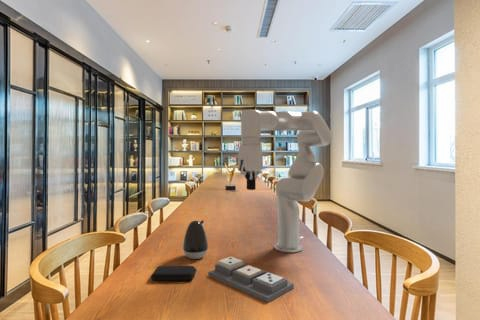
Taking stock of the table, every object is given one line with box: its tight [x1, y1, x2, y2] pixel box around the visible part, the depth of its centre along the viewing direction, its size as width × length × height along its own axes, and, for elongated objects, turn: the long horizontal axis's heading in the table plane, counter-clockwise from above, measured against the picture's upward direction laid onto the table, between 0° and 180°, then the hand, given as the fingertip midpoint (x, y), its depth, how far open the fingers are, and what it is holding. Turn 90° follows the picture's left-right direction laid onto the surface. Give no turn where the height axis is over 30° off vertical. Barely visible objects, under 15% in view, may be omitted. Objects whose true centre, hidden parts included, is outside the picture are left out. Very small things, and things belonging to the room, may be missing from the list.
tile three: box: [257, 272, 284, 286], centre depth 96 cm, size 6×6×2 cm
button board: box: [208, 262, 295, 303], centre depth 102 cm, size 13×27×4 cm, turn 45°
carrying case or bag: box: [150, 265, 197, 283], centre depth 107 cm, size 11×3×15 cm
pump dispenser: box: [182, 220, 209, 260], centre depth 126 cm, size 10×10×15 cm
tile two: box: [218, 256, 243, 269], centre depth 109 cm, size 6×6×2 cm
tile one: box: [236, 264, 262, 277], centre depth 102 cm, size 6×6×2 cm
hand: (251, 189), depth 118 cm, fingers closed
